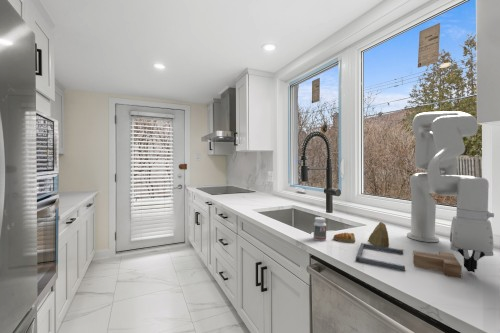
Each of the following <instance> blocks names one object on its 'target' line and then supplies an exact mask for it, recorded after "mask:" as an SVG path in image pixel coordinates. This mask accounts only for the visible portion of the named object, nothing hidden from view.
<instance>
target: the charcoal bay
mask: <svg viewBox="0 0 500 333" xmlns="http://www.w3.org/2000/svg"><path fill="white" fill-rule="evenodd" d="M358 248H359V249H358V251H357V253H356V256H355V262H357V263H362V264H368V265H372V266H373V265H374V266H378V267H383V268H388V269H393V270H398V271H403V272H405V271H406V265H405V264H400V263H394V262H388V261H383V260H379V259H373V258H367V257H363V256H362V255H363V252H364V249H369V250H374V251H381V252H387V253H391V254H392V253H393V254H398V255H404V249H401V248H393V247H383V246H377V245H372V244H370V243H364V242H362V243H360V245H359V247H358Z"/></svg>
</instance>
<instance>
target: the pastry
mask: <svg viewBox="0 0 500 333" xmlns="http://www.w3.org/2000/svg"><path fill="white" fill-rule="evenodd" d="M333 240H335V241H338V242H342V243H351V244H353V243H355V242H356V237H355V233H353V232H351V233H350V232H341V233H337V234H334V235H333Z"/></svg>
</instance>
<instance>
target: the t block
mask: <svg viewBox="0 0 500 333" xmlns="http://www.w3.org/2000/svg"><path fill="white" fill-rule="evenodd" d="M412 256H413V257H412V260H413V261H412V263H413V266H414V267H417V268H422V269H429V270H435V271H439V272H443V274H444V276H446V277H452V278H456V279H462V268H463V267H462V265H461V263H460V261H459V260H458V259H457V257H456V256H455V254H454V253H449V252H443V251H439V252H438V253H432V252H425V251H420V250H413V253H412Z"/></svg>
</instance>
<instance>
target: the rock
mask: <svg viewBox="0 0 500 333" xmlns="http://www.w3.org/2000/svg"><path fill="white" fill-rule="evenodd" d="M388 232H389V231H388V229H387V227H386V224H385V223H383V222H382V221H380V222H379V223H378V224H377V225H376V226H375V228H374V229H373V231H372V232H371V234H370V235H369V237H368V239H367V242H368V243H369V244H371V245H377V246H383V247H389V246H390V241H389V240H390V238H389V233H388ZM389 248H390V247H389Z"/></svg>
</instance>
